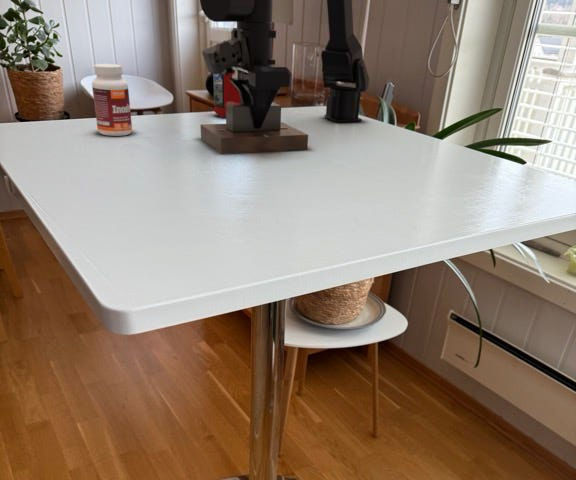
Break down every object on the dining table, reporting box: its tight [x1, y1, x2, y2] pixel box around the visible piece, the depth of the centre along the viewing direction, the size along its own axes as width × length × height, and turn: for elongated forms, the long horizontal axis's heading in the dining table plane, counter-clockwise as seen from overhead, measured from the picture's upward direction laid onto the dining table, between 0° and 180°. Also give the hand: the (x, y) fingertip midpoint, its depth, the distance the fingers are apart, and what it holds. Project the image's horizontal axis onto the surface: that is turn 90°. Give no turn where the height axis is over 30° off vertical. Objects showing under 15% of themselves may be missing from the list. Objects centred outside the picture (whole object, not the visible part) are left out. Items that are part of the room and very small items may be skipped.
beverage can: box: [212, 73, 241, 119], centre depth 121 cm, size 7×7×12 cm
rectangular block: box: [225, 101, 282, 132], centre depth 99 cm, size 9×4×4 cm, turn 114°
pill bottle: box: [91, 63, 133, 137], centre depth 101 cm, size 6×6×11 cm
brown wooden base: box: [200, 121, 309, 155], centre depth 101 cm, size 16×13×3 cm
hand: (253, 126), depth 100 cm, fingers closed on rectangular block, 4 cm apart
